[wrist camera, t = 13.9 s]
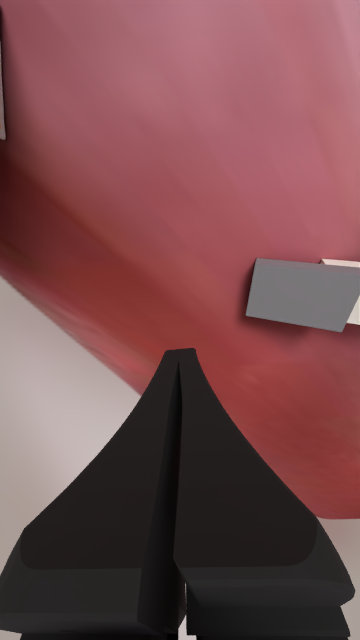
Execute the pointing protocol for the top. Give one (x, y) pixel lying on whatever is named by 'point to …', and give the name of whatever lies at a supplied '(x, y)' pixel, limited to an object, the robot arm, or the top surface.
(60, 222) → the top surface
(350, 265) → the ivory domino
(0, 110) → the skincare box
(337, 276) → the charcoal domino
